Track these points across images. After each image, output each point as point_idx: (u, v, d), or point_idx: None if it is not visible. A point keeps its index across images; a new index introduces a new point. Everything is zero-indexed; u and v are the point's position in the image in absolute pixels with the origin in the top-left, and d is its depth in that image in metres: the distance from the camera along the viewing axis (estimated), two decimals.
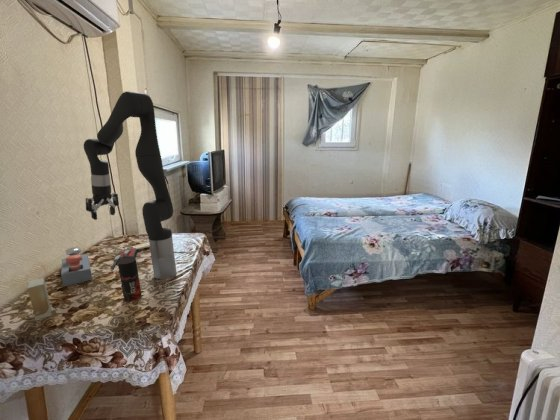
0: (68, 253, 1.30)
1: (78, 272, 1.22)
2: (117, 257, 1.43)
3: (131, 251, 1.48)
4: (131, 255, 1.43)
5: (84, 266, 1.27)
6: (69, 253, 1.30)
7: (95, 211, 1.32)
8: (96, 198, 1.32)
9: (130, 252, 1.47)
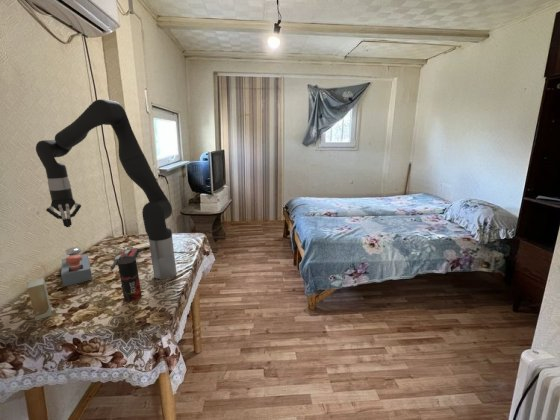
0: (68, 253, 1.30)
1: (78, 272, 1.22)
2: (118, 257, 1.43)
3: (132, 251, 1.48)
4: (131, 255, 1.43)
5: (84, 266, 1.27)
6: (69, 253, 1.30)
7: (64, 218, 1.27)
8: (52, 204, 1.24)
9: (131, 252, 1.47)
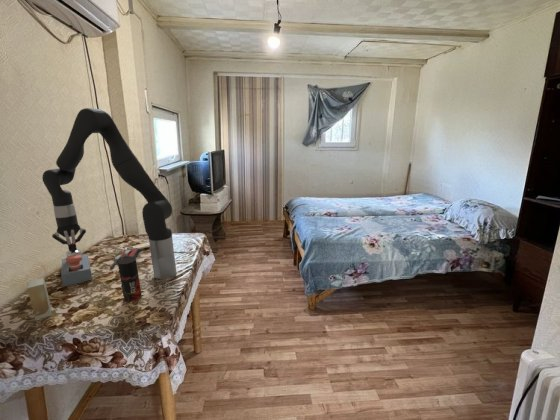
0: (68, 255, 1.30)
1: (78, 272, 1.22)
2: (118, 257, 1.43)
3: (132, 251, 1.48)
4: (131, 255, 1.43)
5: (84, 266, 1.27)
6: (69, 255, 1.30)
7: (70, 243, 1.30)
8: (58, 230, 1.27)
9: (131, 252, 1.47)
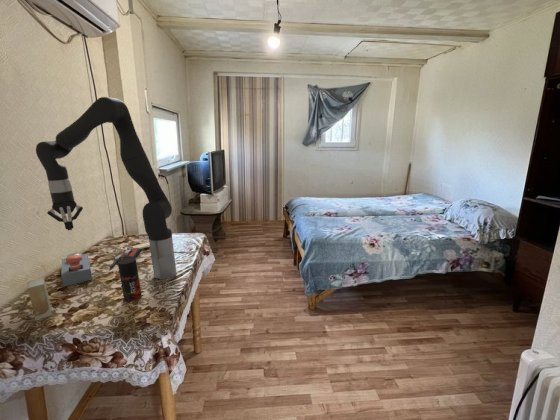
0: None
1: (78, 272, 1.22)
2: (118, 256, 1.44)
3: (133, 251, 1.48)
4: (131, 255, 1.43)
5: (84, 266, 1.27)
6: None
7: (66, 221, 1.24)
8: (53, 207, 1.21)
9: (131, 252, 1.47)
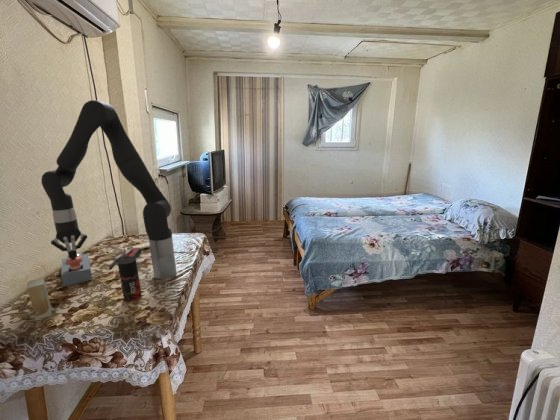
0: None
1: (78, 272, 1.22)
2: (118, 256, 1.44)
3: (133, 251, 1.48)
4: (131, 255, 1.43)
5: (84, 266, 1.27)
6: None
7: (70, 250, 1.21)
8: (57, 236, 1.18)
9: (132, 252, 1.47)
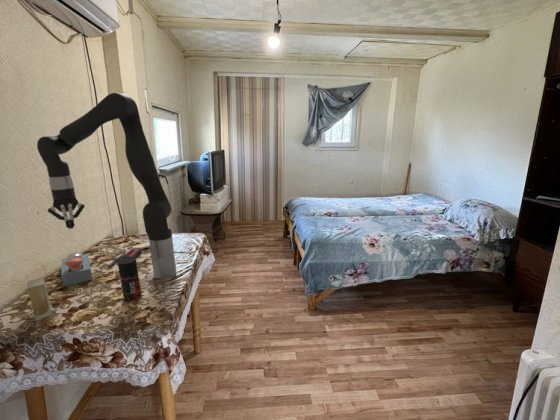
0: (69, 259, 1.31)
1: (78, 272, 1.22)
2: (119, 256, 1.44)
3: (133, 251, 1.48)
4: (131, 255, 1.43)
5: (84, 266, 1.27)
6: None
7: (67, 219, 1.20)
8: (54, 204, 1.17)
9: (132, 252, 1.47)
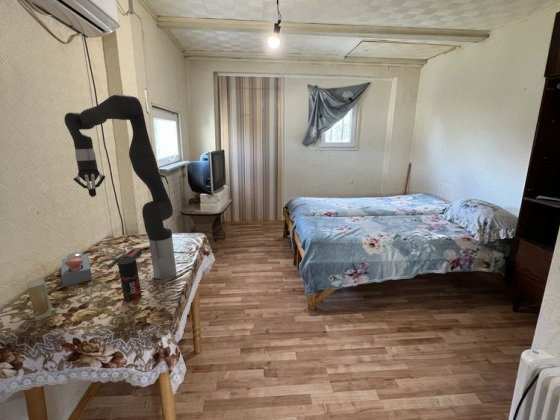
0: (69, 259, 1.31)
1: (78, 272, 1.22)
2: (119, 256, 1.44)
3: (134, 251, 1.48)
4: (131, 255, 1.43)
5: (84, 266, 1.27)
6: None
7: (90, 187, 1.35)
8: (79, 174, 1.32)
9: (132, 252, 1.47)
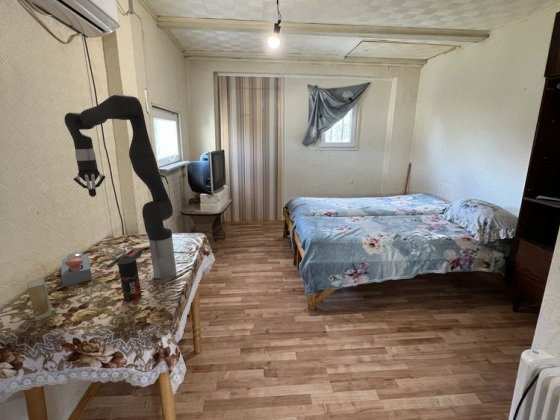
0: (69, 259, 1.31)
1: (78, 272, 1.22)
2: (119, 256, 1.45)
3: (134, 251, 1.48)
4: (131, 255, 1.43)
5: (84, 266, 1.27)
6: None
7: (90, 187, 1.35)
8: (79, 174, 1.32)
9: (132, 252, 1.47)
